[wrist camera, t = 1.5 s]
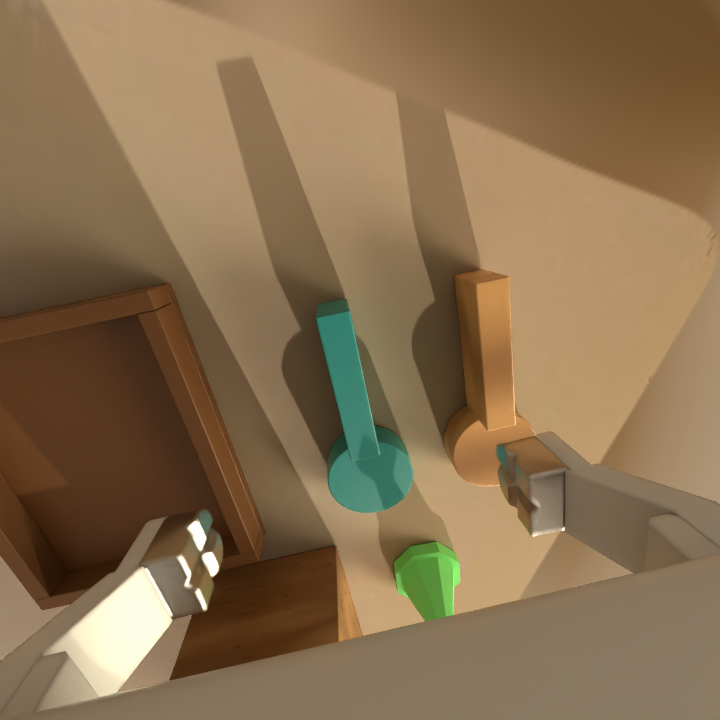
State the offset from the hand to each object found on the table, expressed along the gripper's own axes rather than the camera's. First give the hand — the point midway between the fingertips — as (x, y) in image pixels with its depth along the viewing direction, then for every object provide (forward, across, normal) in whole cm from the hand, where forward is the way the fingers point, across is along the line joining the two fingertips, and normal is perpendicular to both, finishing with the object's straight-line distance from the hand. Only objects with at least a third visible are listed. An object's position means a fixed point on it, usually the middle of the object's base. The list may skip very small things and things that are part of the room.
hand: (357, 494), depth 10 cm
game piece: (+9, -2, +14) cm, 17 cm away
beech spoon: (+8, -7, +2) cm, 11 cm away
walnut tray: (+9, +12, +1) cm, 15 cm away
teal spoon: (+8, 0, +2) cm, 9 cm away
